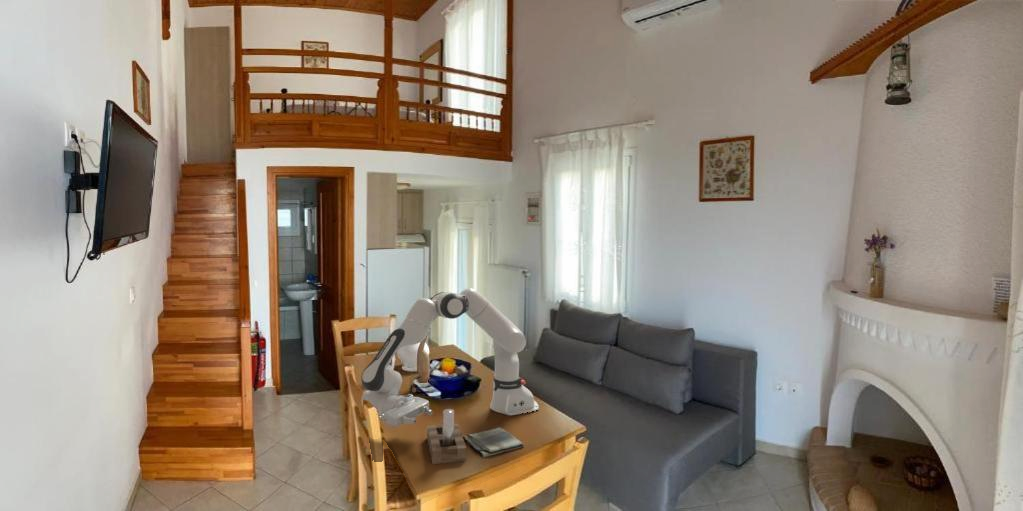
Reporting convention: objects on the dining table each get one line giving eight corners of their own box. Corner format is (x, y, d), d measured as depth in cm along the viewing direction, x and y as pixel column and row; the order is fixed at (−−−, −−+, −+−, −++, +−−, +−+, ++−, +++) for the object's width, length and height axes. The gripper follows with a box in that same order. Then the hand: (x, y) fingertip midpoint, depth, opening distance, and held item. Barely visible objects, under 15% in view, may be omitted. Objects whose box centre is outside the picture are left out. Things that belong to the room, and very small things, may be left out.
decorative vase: (398, 362, 284) (399, 320, 281) (429, 362, 286) (430, 321, 283) (394, 373, 266) (395, 328, 264) (427, 373, 268) (428, 328, 266)
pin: (449, 449, 182) (451, 407, 181) (454, 453, 179) (456, 411, 177) (440, 451, 180) (441, 410, 178) (445, 456, 177) (446, 414, 175)
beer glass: (382, 377, 258) (382, 350, 257) (395, 377, 259) (396, 350, 257) (380, 382, 251) (380, 353, 250) (393, 382, 252) (394, 354, 250)
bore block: (427, 438, 192) (427, 426, 192) (457, 435, 195) (457, 423, 195) (432, 464, 173) (432, 450, 173) (465, 460, 176) (466, 447, 176)
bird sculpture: (410, 385, 249) (410, 324, 245) (434, 383, 252) (433, 323, 248) (412, 394, 238) (411, 330, 235) (436, 392, 241) (435, 328, 238)
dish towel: (500, 430, 203) (500, 422, 203) (524, 448, 188) (524, 440, 188) (460, 440, 193) (460, 432, 193) (482, 460, 178) (482, 451, 178)
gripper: (376, 409, 182) (404, 418, 175) (413, 392, 200) (439, 400, 193) (376, 425, 183) (404, 435, 176) (412, 407, 200) (439, 415, 194)
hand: (423, 417), depth 185 cm, fingers open, 8 cm apart
